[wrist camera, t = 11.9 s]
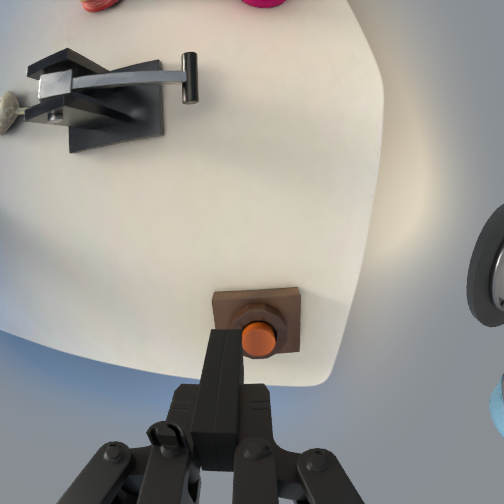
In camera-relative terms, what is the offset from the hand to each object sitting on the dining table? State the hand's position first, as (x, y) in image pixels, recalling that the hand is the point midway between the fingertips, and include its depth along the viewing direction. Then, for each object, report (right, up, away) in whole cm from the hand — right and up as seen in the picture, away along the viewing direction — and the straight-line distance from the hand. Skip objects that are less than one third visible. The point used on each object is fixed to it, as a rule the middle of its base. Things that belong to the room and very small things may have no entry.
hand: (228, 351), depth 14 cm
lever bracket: (-15, +22, +14) cm, 29 cm away
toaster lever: (-10, +20, +6) cm, 23 cm away
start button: (+2, -4, +18) cm, 18 cm away
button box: (+2, -3, +21) cm, 22 cm away
